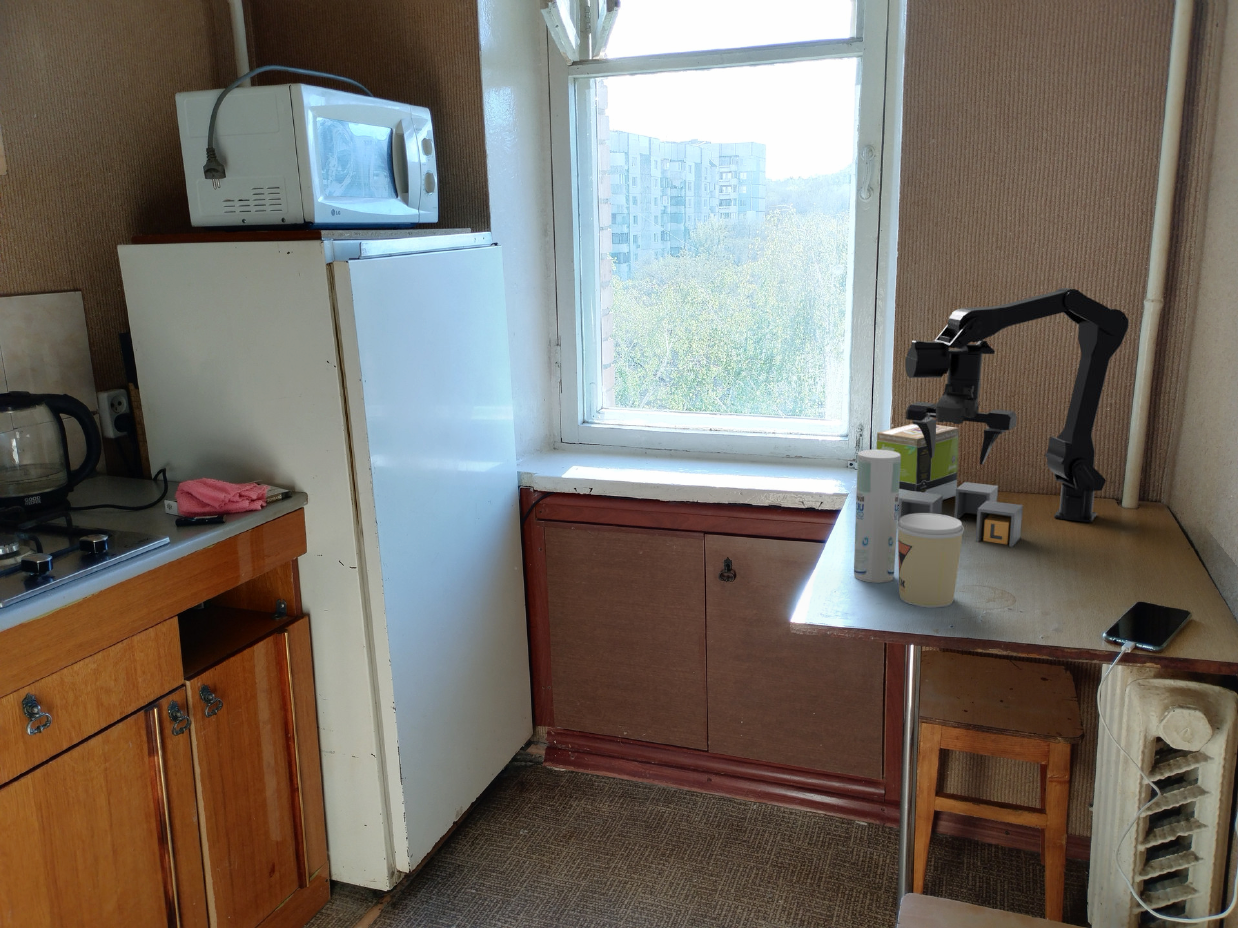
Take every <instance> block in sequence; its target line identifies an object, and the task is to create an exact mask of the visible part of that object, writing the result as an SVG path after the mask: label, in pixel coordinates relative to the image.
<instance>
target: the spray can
mask: <svg viewBox="0 0 1238 928" xmlns="http://www.w3.org/2000/svg"><path fill="white" fill-rule="evenodd" d="M856 464H857V466H856V467H857V468H856V493H855V495H856V496H855V525H854V526H855V527H854V529H855V530H854V556H853V557H854V558H853V561H854V562H853V574H854V575H853V577H855V578H856V579H857V580H860V581H863V582H867V583H874V584H875V583H877V584H878V583H887V582H891V581H892V580H894V577H895V565H896V549H897V534H898V529H897V523H898V508H899V506H898V499H899V481H900V464H901V455H900V454H899V453H897V452H894V451H889V450H877V449H865V450H861V451H858V453H857V462H856Z"/></svg>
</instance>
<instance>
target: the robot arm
mask: <svg viewBox="0 0 1238 928" xmlns="http://www.w3.org/2000/svg"><path fill="white" fill-rule="evenodd" d="M1062 313H1063V314H1064V315H1065V316H1066V317H1067V318H1068V319H1069V320H1070V321H1072V322H1073V323H1074V324H1076V325H1077V326H1078V332H1077V333H1078V334H1077V336H1078V337H1077V340H1078V344H1079V349H1080V358H1079V363H1078V368H1077V372H1076V377H1075V381H1074V385H1073V390H1072V394H1071V398H1070V401H1069V402H1070V403H1069V405H1068V406H1069V407H1068V411H1067V415H1066V418H1065V424H1064V426H1063V429H1062V431H1060V432H1061V433H1059V435H1058V436H1057V437H1056V436H1051V435H1050V436H1049V439H1048V445H1047V446H1048V447H1047V450H1046V453H1045V454H1044V457H1045V458H1046V466H1047V467H1048V468H1049V470H1050V471H1051V472H1052V473H1053V476H1054V480H1055V481H1056V482H1058V483H1059V482H1060V483H1061V488H1060V489H1061V490H1060V498H1059V499H1060V500H1059V508H1058V510H1057V511H1056V513H1055V514H1054V516H1053V517H1054V518H1055V519H1060V520H1061V519H1062V520H1067V521H1077V522H1083V523H1092V522H1093V520H1094V519H1095V518H1096V516H1097V514H1098V513H1097V512H1096V511H1094V510H1093V509H1094V499H1095V492H1096V491H1097V492H1098V491H1099V492H1102V491H1103V488H1104V486H1105V485H1106V482H1107V480H1106V478H1105V477H1104V476H1103V475H1102V474H1101V473H1100V472H1099V471H1098V470H1097V469H1096V468H1095V459H1096V458H1095V457H1096V456H1095V455H1096V453H1095V452H1096V451H1095V445H1094V440H1093V436H1092V435H1093V429H1094V426H1095V421H1096V416H1097V415H1098V414H1097V413H1098V409H1099V405H1100V401H1101V398H1102V392H1103V389H1104V385H1105V384H1104V383H1105V380H1106V375H1107V371H1108V367H1109V363H1110V360H1111V358H1112V357H1113V356H1114V355H1115V353H1116V352H1117V350H1118V349H1119V348H1120V347H1121V346H1122V344H1123V341H1124V339H1125V337H1126V334H1127V332H1128V329H1129V324H1130V322H1129V318H1128V317H1127V315H1126V313H1125V312H1123V311H1122V310H1120V309H1117V308H1110V307H1107V306H1106V305H1104V304H1102V303H1101V302H1098V301H1096V300H1095V299H1092V298H1090V297H1089V296H1087V295H1085V294H1084V293H1083V292H1081V291H1080V290H1078V289H1077V288H1068V287H1063V288H1062V287H1061V288H1058V289H1057V290H1055V291H1050V292H1046V293H1043V294H1039V295H1035V296H1030V297H1027V298H1023V299H1020V300H1016V301H1012V302H1011V301H1010V302H1008V303H1004V304H1000V305H995V306H994V305H993V306H972V307H961V308H958V309H954V311H953V312H952V313H951V314H950V315H949V318H948V320H947V324H946V325H945V327H944V328H943V329H942V330H941V332H940V333H939V335H937V337H935V339H934V340H933V341H923V340H918V339H917V340H912V341H911V345H910V347H909V349H908V351H907V353H906V356H905V360H904V368H905V373H906V376H907V378H909V379H941V378H942V377H943V376H944V375H946V374H947V377H946V383H945V385H944V390H943V391H944V392H943V393H942V396H941V397H940V398H939V399H938V401H937V402H936V403H935V402H923V401H916V402H913V403H911V404H909V405H908V406H907V407H906V411H905V420H908V421H909V420H910V421H912V423H911V424H914V425H917V426H918V427H919V428H920V429H921V431H922V433H923V436H924V439H925V442H926V446H927V449H928V453H929V457H930V458H933V457H934V452H935V440H936V425H937V422H939V423H951V424H952V423H953V424H954V425H961V424H963V423H964V422H969V423H970V422H972V423H981V424H985V425H986V426H987V428H985V429H984V430H983V441H982V445H981V446H982V447H981V451H980V456H979V457H980V458H979V465H982V466H983V465H984V464H985V461H986V459H987V457H988V455H989V453H990V452H991V449H992V447H993V446H994V443H995V442H996V440H997V439H998V437H999V436H1000V435H1003V434H1004V433H1005V432H1007V431H1010V430H1012V429H1013V428H1015V427H1017V419H1018V417H1017V414H1016V412H1015V411H1014V410H1006V409H1005V410H1004V409H993V410H991V411H989V412H979V407H980V406H979V395H980V389H981V386H982V385H981V384H982V383H981V375H982V373H981V372H982V363H983V355H994V354H995V349H993V348H992V347H991V346H990V344H989V343H988V341H987V340H986V339H988V338H990V337H992V336H995V335H996V334H998V333H999V332H1000V331H1002V330H1003V329H1006V328H1008V327H1012V326H1015V325H1020V324H1023V323H1026V322H1027V323H1028V322H1031V321H1036V320H1039V319H1043V318H1046V317H1050V316H1054V315H1059V314H1062Z"/></svg>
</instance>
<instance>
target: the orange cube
mask: <svg viewBox="0 0 1238 928" xmlns="http://www.w3.org/2000/svg"><path fill="white" fill-rule="evenodd" d="M1010 530H1011V517H1008V516H1000V515H993V514H990V515H989V516H988V517H987V518H986V519H985V526H984V537H983V539H982V540H983V542H989V543H996V544H1002V545H1008V544H1009V543H1010Z"/></svg>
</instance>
